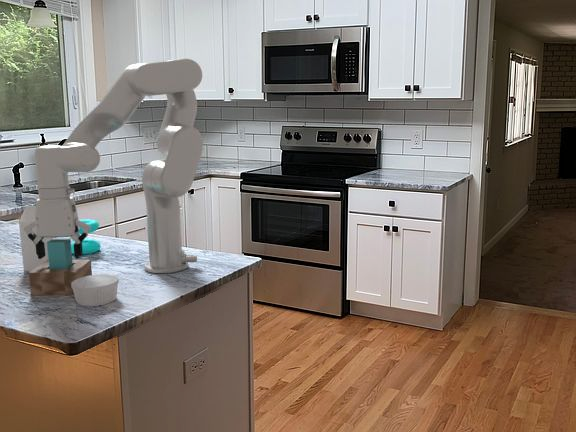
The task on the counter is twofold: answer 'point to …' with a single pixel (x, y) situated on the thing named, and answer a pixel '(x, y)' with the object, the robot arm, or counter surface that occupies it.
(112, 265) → the counter surface
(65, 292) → the socket block
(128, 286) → the counter surface
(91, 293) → the ramekin
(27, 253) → the milk carton
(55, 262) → the peg
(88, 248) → the teal stacked rings
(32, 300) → the counter surface
